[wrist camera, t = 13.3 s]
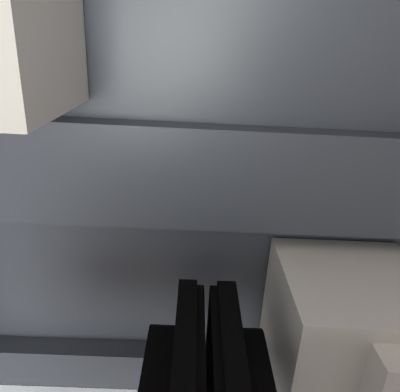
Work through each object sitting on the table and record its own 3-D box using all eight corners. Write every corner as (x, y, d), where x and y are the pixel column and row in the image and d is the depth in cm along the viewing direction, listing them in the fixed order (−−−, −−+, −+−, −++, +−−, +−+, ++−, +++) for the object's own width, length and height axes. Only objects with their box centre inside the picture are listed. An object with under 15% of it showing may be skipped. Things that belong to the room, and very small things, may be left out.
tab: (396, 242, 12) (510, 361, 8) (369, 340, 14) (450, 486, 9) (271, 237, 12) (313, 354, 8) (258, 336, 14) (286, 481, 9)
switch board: (610, -128, 9) (721, -172, 7) (429, 358, 16) (464, 405, 14) (-206, -178, 9) (-321, -238, 7) (-61, 339, 15) (-102, 386, 13)
